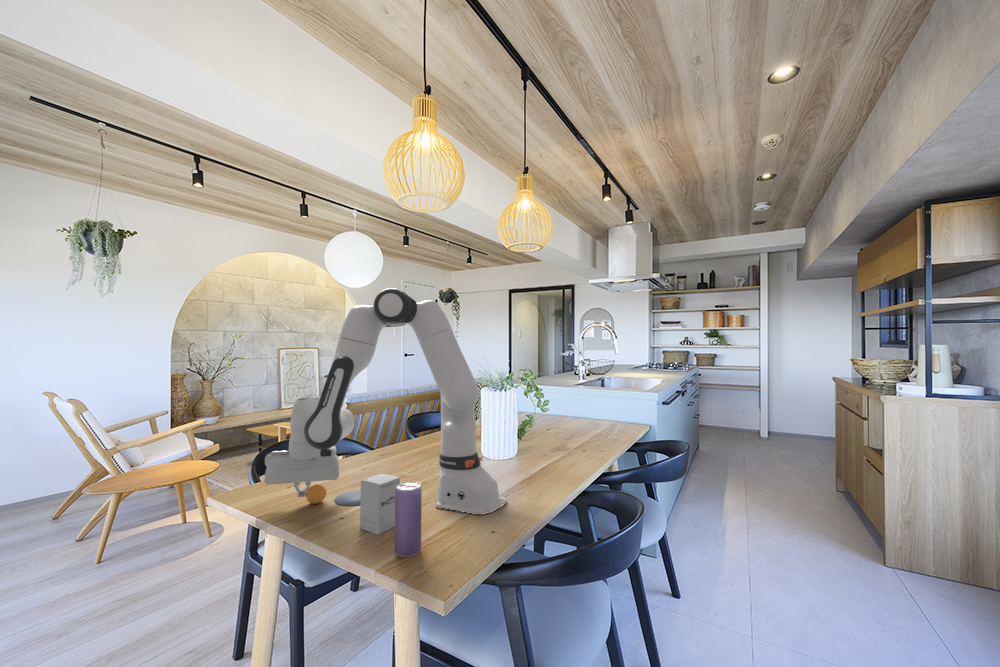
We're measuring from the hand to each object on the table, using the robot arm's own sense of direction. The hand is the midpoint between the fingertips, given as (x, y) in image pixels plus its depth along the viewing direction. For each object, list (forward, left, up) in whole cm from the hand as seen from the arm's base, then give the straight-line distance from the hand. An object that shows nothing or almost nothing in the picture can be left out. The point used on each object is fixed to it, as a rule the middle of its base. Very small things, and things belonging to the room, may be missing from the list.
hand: (301, 496), depth 121 cm
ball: (-2, -3, 0) cm, 4 cm away
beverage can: (-47, +1, -3) cm, 48 cm away
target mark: (-9, -13, -3) cm, 16 cm away
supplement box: (-31, -4, -3) cm, 32 cm away
